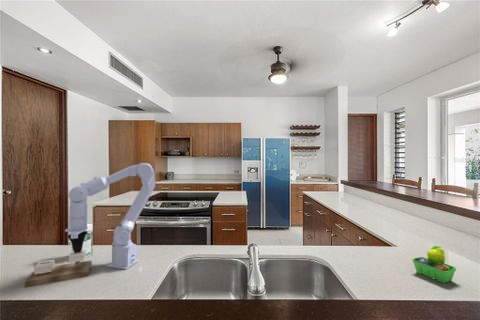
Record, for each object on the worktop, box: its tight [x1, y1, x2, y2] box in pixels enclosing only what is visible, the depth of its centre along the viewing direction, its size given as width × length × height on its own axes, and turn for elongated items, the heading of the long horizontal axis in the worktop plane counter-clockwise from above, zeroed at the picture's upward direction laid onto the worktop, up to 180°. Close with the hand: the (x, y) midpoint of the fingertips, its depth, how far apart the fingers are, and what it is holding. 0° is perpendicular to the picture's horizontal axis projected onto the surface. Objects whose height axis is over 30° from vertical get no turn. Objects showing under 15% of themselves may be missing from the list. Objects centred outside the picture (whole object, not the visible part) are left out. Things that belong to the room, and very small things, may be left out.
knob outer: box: [33, 259, 56, 275], centre depth 82 cm, size 5×5×3 cm
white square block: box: [68, 250, 87, 264], centre depth 87 cm, size 5×5×3 cm
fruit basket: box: [411, 245, 457, 284], centre depth 86 cm, size 11×9×11 cm
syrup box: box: [71, 222, 94, 258], centre depth 102 cm, size 6×6×14 cm
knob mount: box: [24, 260, 93, 288], centre depth 85 cm, size 18×10×4 cm, turn 117°
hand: (77, 251), depth 87 cm, fingers closed
